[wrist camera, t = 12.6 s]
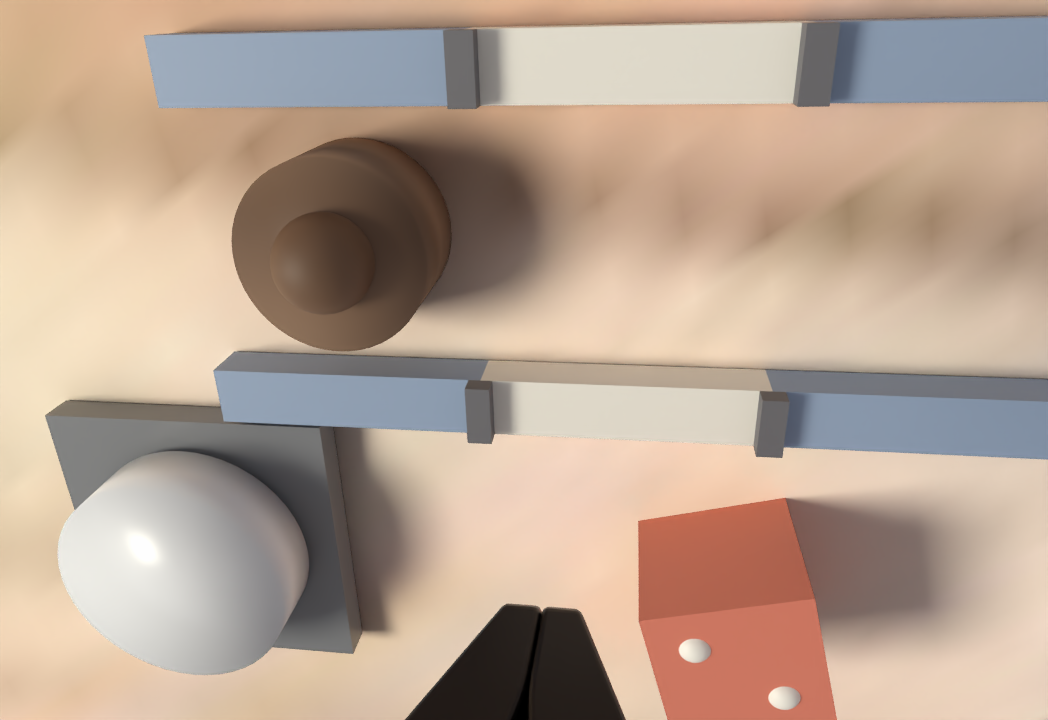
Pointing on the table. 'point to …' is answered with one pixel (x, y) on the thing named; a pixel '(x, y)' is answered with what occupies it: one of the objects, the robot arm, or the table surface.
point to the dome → (185, 563)
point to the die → (732, 616)
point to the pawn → (342, 243)
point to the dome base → (259, 449)
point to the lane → (625, 79)
